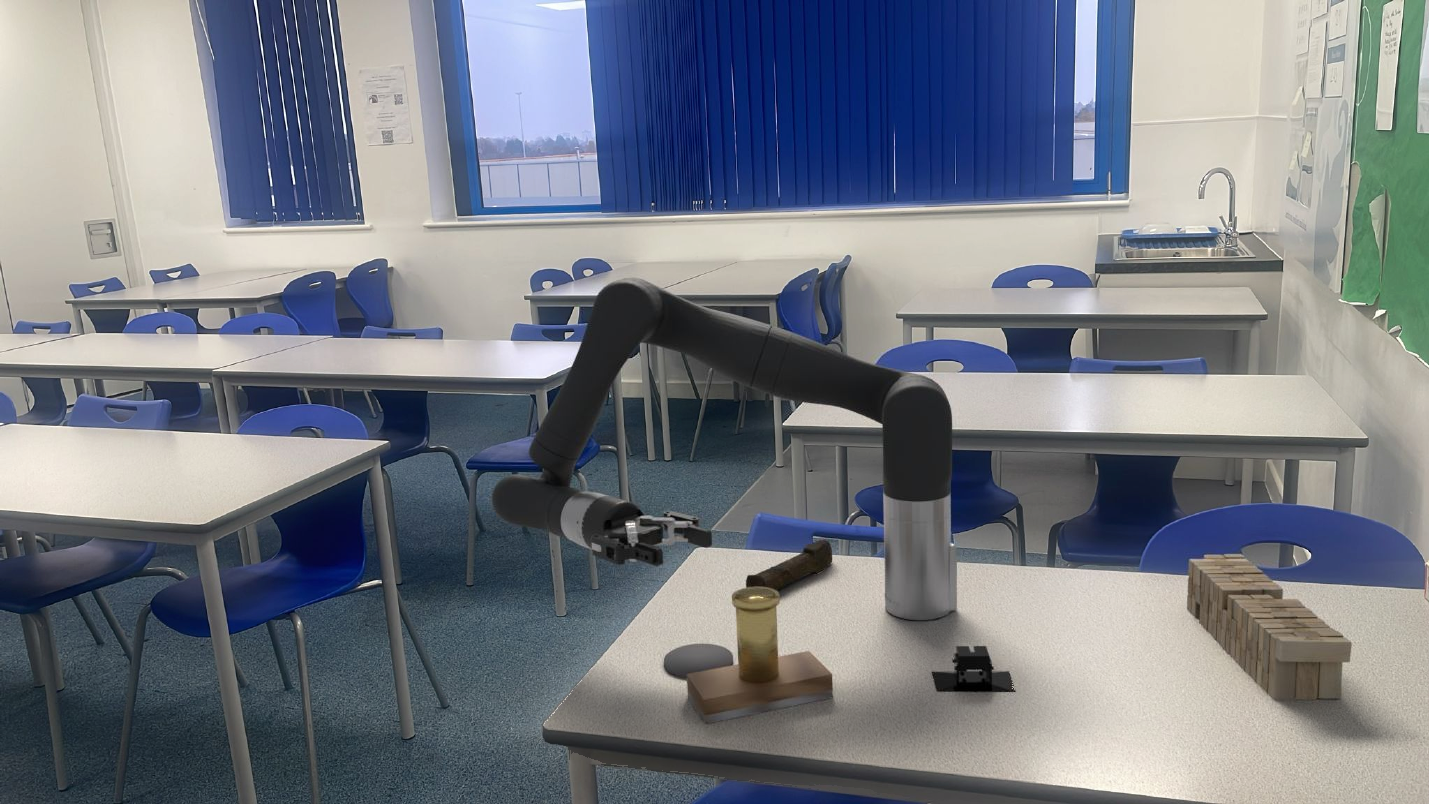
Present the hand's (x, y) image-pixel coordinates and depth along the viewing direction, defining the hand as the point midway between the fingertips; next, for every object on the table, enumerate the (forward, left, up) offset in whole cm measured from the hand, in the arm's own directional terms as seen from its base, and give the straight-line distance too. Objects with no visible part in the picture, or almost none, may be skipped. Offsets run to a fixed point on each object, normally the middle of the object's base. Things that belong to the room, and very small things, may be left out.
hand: (686, 548), depth 133 cm
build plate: (-31, +16, -17) cm, 39 cm away
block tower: (-67, +23, -17) cm, 73 cm away
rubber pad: (-1, -2, -16) cm, 17 cm away
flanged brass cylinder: (-5, +10, -13) cm, 18 cm away
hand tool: (-23, -24, -17) cm, 38 cm away
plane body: (-5, +10, -16) cm, 20 cm away
